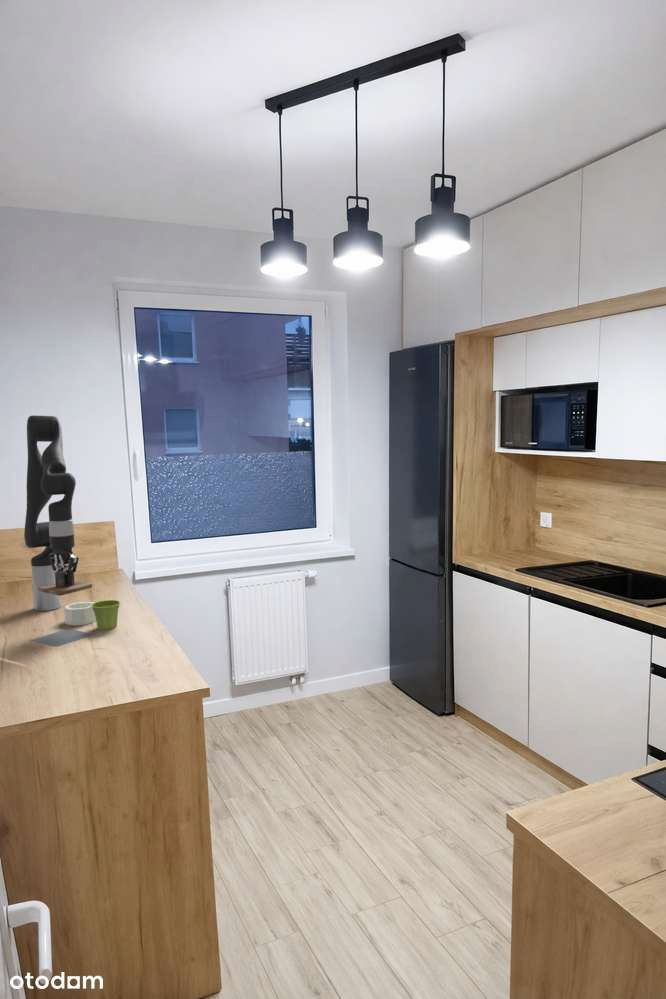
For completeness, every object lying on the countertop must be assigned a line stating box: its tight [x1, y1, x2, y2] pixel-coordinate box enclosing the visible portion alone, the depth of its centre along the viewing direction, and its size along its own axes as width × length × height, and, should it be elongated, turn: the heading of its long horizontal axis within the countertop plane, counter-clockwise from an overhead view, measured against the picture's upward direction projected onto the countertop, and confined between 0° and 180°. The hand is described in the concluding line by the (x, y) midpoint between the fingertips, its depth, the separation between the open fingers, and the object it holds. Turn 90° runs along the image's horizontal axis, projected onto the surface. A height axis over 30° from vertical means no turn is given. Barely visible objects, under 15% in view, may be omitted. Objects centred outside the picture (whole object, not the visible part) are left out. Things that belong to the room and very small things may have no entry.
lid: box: [38, 568, 93, 597], centre depth 217 cm, size 12×12×6 cm
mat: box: [30, 628, 95, 648], centre depth 211 cm, size 14×14×1 cm
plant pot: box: [91, 599, 121, 631], centre depth 221 cm, size 9×9×9 cm
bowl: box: [63, 601, 96, 626], centre depth 230 cm, size 10×10×6 cm
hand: (65, 584), depth 217 cm, fingers closed on lid, 3 cm apart
